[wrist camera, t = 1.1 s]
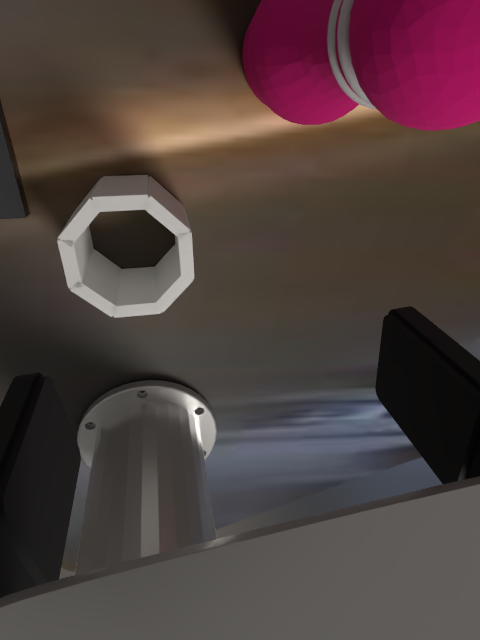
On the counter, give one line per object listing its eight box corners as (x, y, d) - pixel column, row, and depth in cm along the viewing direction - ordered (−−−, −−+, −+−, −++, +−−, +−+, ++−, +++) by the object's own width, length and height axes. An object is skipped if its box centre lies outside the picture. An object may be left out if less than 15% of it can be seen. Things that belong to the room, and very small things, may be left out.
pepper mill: (296, 143, 28) (530, 227, 11) (210, 69, 25) (350, 23, 8) (367, 42, 26) (799, -50, 9) (283, -52, 22) (703, -492, 5)
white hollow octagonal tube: (188, 273, 31) (196, 310, 26) (88, 281, 30) (76, 321, 25) (181, 173, 27) (189, 192, 22) (67, 177, 26) (47, 199, 21)
